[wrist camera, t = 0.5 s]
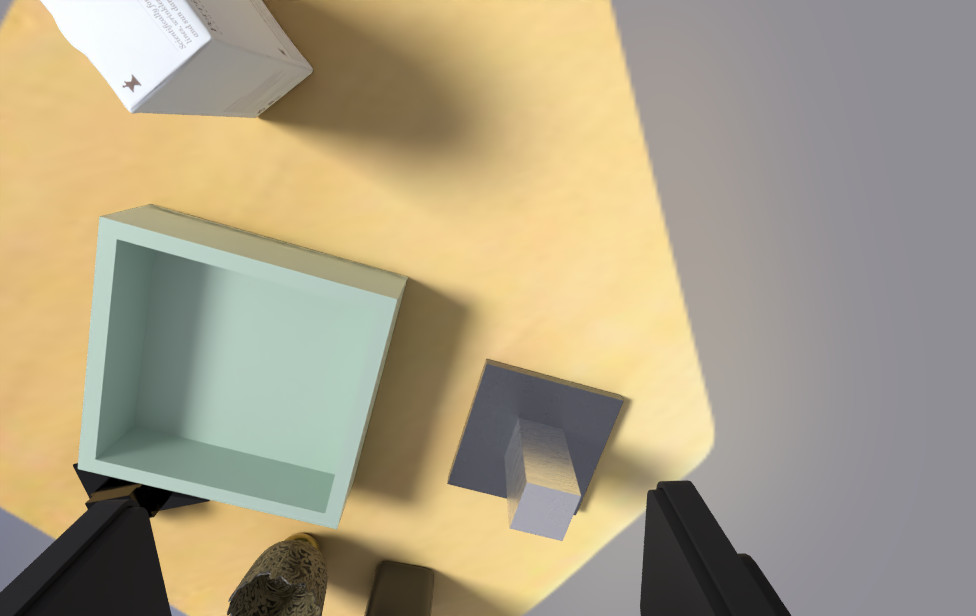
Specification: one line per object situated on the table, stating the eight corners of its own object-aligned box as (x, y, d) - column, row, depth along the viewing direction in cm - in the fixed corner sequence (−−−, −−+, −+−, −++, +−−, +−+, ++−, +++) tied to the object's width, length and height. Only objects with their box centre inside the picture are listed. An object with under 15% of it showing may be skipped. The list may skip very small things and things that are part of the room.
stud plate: (486, 358, 47) (487, 383, 42) (620, 395, 48) (634, 422, 44) (447, 477, 50) (445, 510, 46) (573, 508, 52) (582, 543, 47)
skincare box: (316, 71, 40) (227, 43, 26) (252, 122, 41) (132, 122, 27) (235, -40, 38) (88, -139, 23) (169, 16, 39) (-10, -45, 24)
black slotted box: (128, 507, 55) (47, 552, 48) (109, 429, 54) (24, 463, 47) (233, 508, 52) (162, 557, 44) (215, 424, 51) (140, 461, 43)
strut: (518, 417, 47) (526, 482, 39) (563, 429, 48) (581, 495, 39) (504, 457, 49) (509, 528, 40) (547, 468, 49) (562, 541, 40)
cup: (335, 509, 51) (310, 576, 44) (349, 573, 54) (328, 647, 46) (254, 516, 51) (215, 585, 44) (272, 580, 54) (238, 655, 46)
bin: (150, 204, 42) (99, 216, 37) (407, 276, 44) (397, 299, 39) (125, 428, 48) (77, 469, 43) (353, 483, 50) (337, 529, 45)
